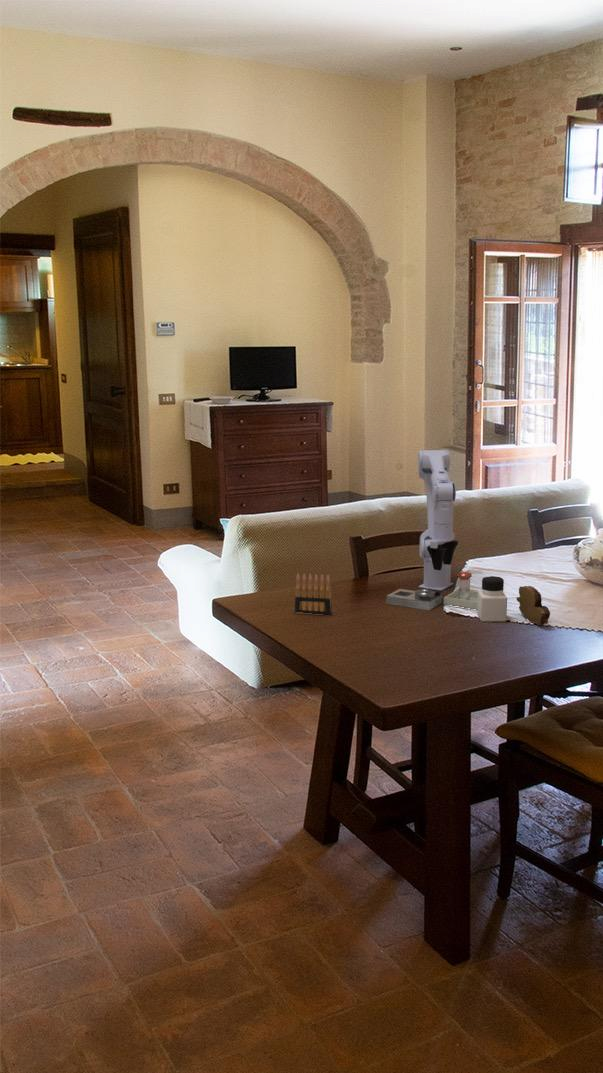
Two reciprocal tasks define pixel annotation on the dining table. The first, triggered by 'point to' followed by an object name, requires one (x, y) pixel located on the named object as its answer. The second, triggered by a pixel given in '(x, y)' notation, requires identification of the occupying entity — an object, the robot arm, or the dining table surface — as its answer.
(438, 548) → the robot arm
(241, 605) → the dining table surface
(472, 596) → the tray
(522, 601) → the wooden carving
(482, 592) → the medicine bottle
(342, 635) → the dining table surface
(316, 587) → the ammunition clip
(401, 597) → the grey fixture block
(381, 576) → the dining table surface
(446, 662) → the dining table surface
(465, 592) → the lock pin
